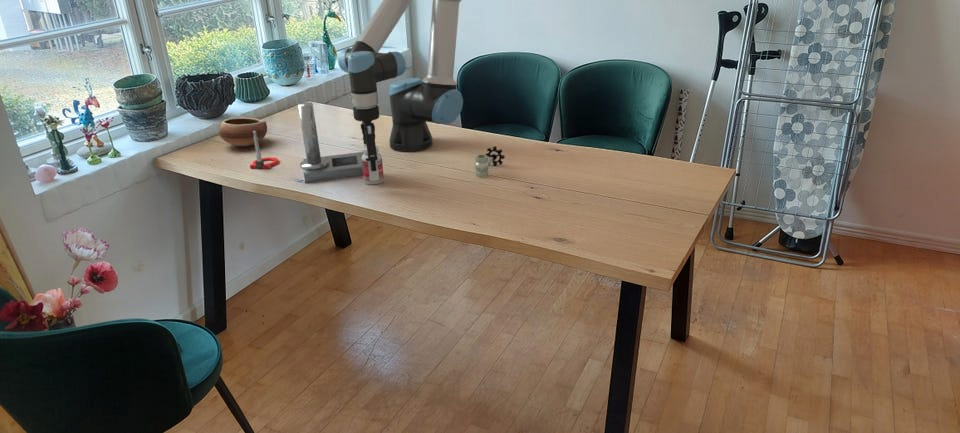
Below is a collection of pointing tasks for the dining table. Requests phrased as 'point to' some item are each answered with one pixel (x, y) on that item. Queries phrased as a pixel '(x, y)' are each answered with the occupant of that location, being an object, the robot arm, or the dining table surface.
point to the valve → (487, 162)
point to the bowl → (242, 131)
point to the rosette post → (327, 165)
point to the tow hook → (260, 161)
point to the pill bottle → (366, 168)
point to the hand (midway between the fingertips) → (372, 173)
